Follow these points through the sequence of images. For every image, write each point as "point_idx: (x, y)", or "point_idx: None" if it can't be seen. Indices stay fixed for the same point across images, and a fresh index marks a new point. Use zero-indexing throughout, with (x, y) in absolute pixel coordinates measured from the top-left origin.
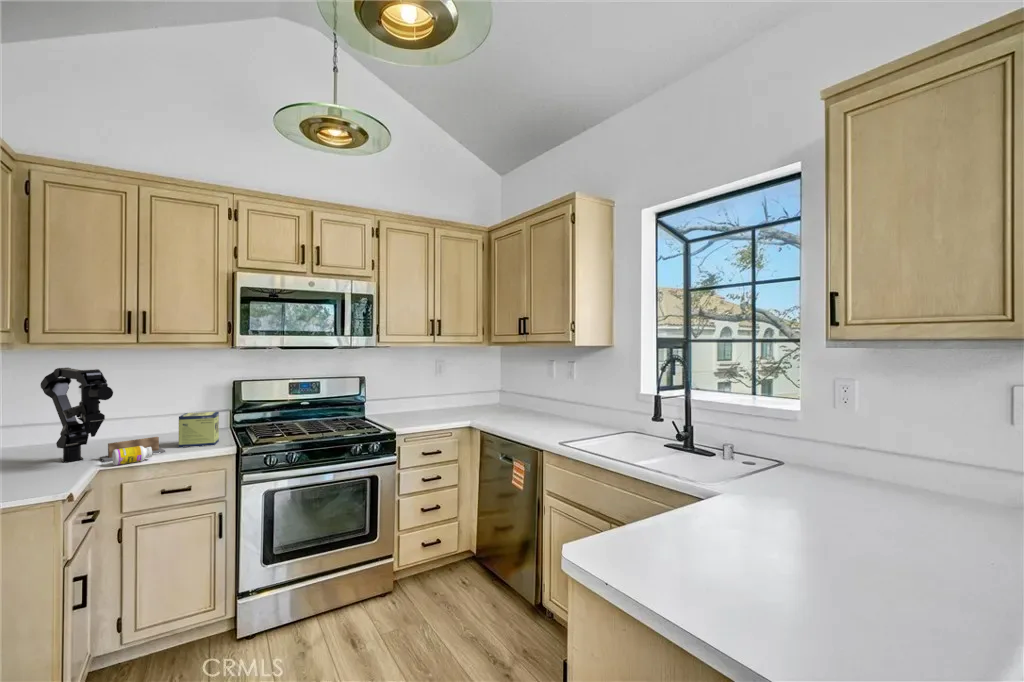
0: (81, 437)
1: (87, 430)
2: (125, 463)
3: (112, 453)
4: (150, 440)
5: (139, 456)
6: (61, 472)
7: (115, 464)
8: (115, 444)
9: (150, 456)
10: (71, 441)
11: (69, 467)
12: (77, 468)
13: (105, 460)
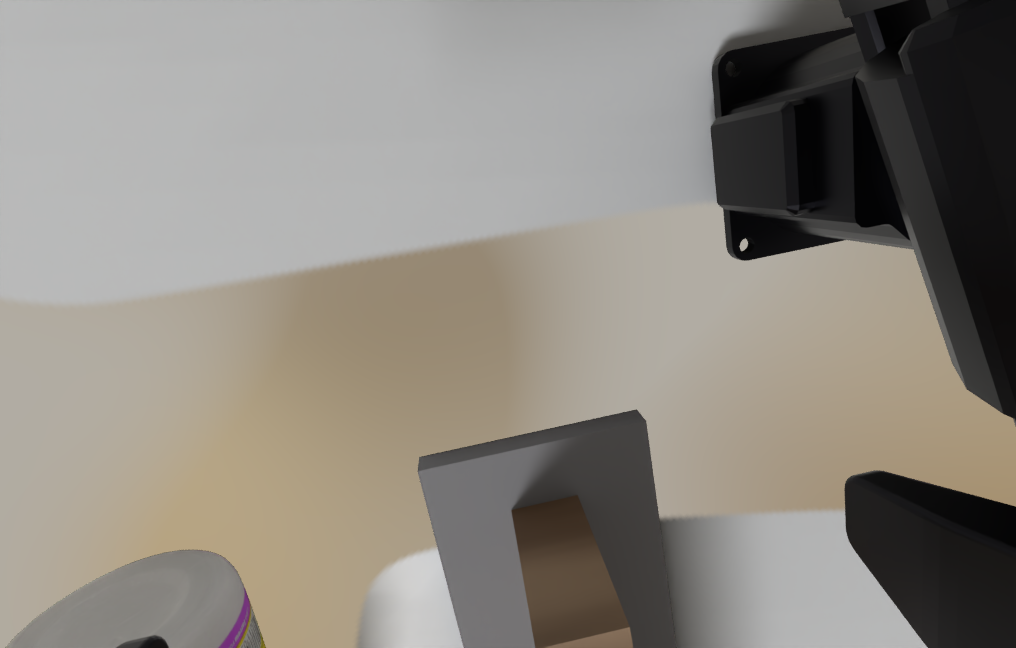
0: (962, 308)
1: (937, 568)
2: None
3: (166, 637)
4: None
5: None
6: (98, 54)
7: (114, 573)
8: None
9: None
10: (871, 106)
11: (370, 132)
12: (244, 218)
13: (421, 476)
